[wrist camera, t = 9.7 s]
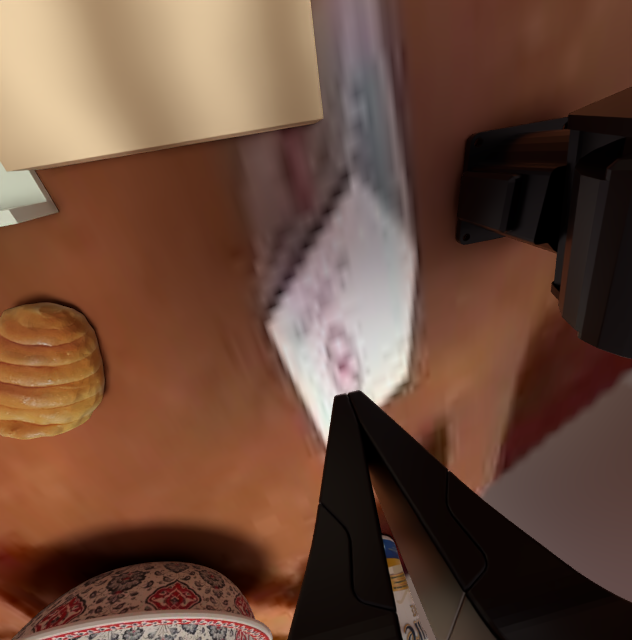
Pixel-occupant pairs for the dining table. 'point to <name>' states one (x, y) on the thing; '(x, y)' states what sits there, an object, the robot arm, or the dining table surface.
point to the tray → (23, 197)
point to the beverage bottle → (402, 595)
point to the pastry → (47, 370)
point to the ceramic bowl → (149, 607)
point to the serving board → (149, 75)
